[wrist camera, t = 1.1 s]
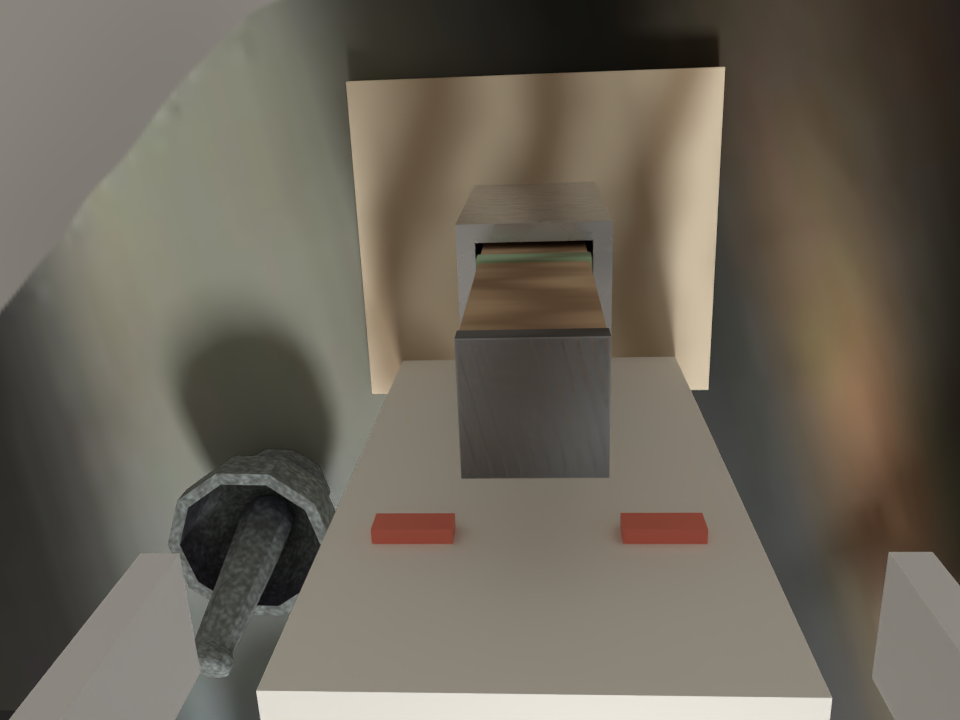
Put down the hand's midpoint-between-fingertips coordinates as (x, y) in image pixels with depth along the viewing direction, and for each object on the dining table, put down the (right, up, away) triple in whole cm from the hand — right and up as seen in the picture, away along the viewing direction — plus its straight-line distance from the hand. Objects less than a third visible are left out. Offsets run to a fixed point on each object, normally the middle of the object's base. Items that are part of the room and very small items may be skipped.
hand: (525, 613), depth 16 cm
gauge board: (+3, +5, +35) cm, 35 cm away
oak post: (+2, +11, +32) cm, 34 cm away
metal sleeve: (+2, +11, +32) cm, 34 cm away
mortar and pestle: (-14, -4, +41) cm, 43 cm away
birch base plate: (+2, +12, +34) cm, 36 cm away
